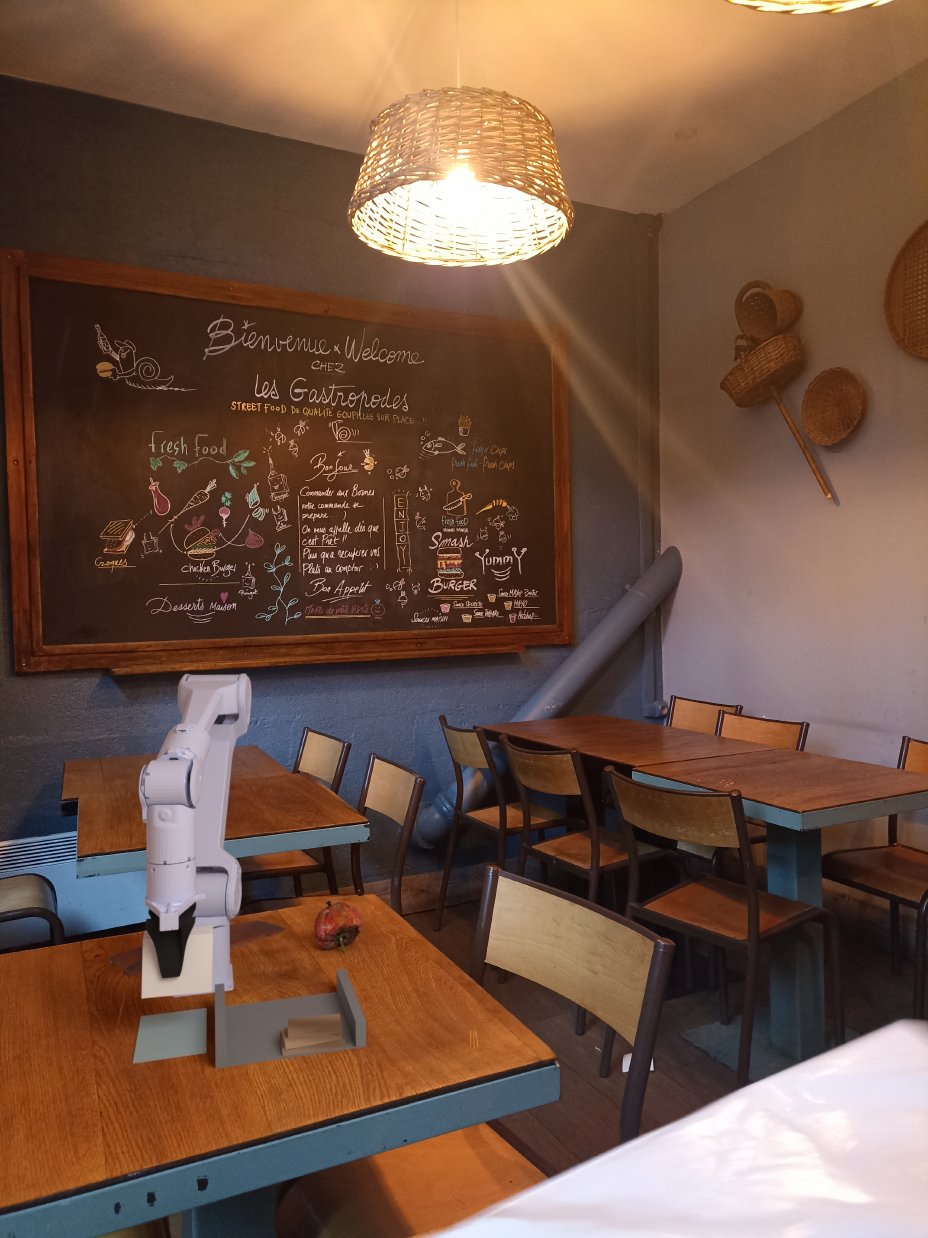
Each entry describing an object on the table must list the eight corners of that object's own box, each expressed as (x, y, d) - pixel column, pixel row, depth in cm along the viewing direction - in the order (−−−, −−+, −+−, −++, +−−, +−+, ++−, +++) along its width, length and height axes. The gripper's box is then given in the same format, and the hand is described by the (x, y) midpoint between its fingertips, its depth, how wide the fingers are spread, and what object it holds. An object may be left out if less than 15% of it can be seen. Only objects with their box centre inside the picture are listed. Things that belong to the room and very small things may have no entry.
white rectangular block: (143, 988, 105) (144, 930, 105) (211, 982, 107) (212, 925, 107) (141, 998, 102) (142, 939, 102) (211, 991, 104) (212, 933, 104)
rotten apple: (368, 964, 132) (355, 909, 140) (368, 937, 128) (356, 882, 135) (320, 975, 130) (310, 919, 138) (319, 948, 126) (308, 891, 133)
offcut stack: (279, 1040, 102) (279, 1020, 102) (340, 1031, 104) (339, 1011, 104) (282, 1057, 98) (282, 1036, 98) (345, 1048, 100) (345, 1027, 100)
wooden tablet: (134, 985, 121) (134, 973, 121) (105, 965, 128) (105, 954, 128) (293, 935, 140) (293, 925, 140) (259, 920, 147) (259, 911, 147)
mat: (140, 1021, 109) (140, 1016, 109) (206, 1012, 111) (206, 1008, 111) (132, 1067, 97) (132, 1062, 97) (206, 1057, 99) (206, 1052, 99)
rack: (214, 1011, 111) (214, 984, 111) (345, 994, 116) (345, 968, 116) (215, 1073, 96) (215, 1041, 96) (366, 1050, 101) (365, 1020, 101)
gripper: (205, 871, 98) (206, 990, 98) (206, 842, 112) (206, 946, 112) (140, 877, 96) (140, 998, 96) (148, 846, 110) (149, 952, 110)
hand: (171, 971), depth 104 cm, fingers closed on white rectangular block, 3 cm apart
